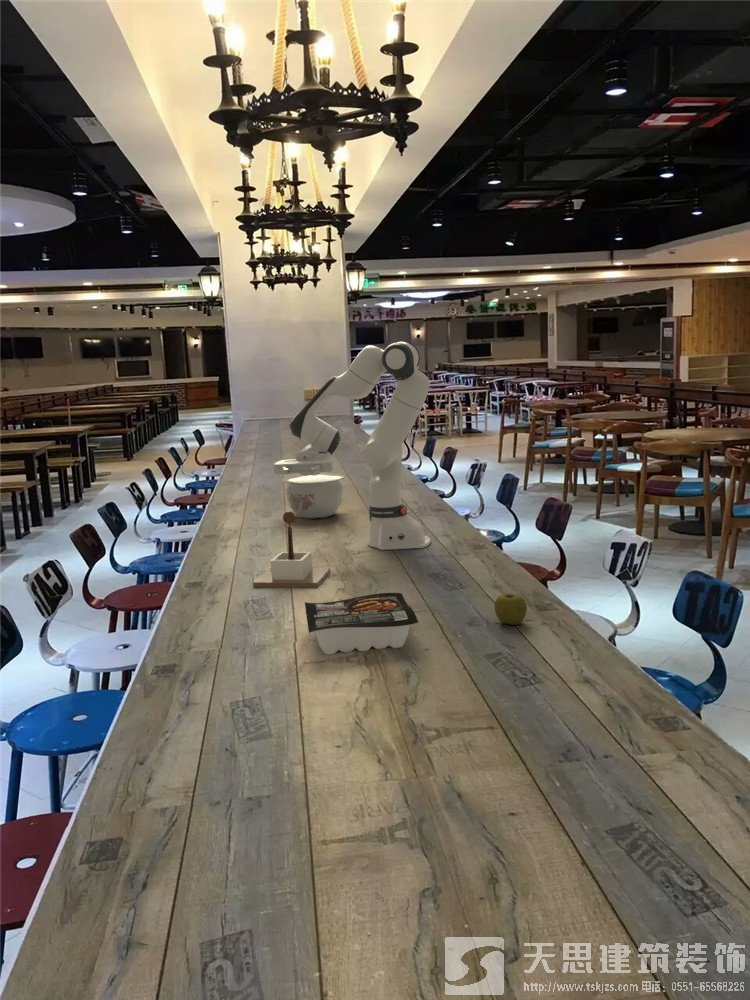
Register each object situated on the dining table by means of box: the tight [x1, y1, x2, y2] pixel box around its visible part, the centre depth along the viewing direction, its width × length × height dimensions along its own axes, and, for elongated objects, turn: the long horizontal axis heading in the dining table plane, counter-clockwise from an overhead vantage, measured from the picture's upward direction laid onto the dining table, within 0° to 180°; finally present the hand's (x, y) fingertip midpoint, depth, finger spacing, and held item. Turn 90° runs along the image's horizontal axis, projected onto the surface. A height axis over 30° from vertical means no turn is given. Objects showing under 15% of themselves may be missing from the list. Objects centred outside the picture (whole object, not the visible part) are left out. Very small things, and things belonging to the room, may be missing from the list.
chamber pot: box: [281, 471, 346, 520], centre depth 333 cm, size 28×28×21 cm
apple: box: [494, 593, 528, 626], centre depth 192 cm, size 8×8×7 cm
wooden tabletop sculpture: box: [282, 510, 302, 560], centre depth 238 cm, size 6×5×20 cm
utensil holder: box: [252, 551, 331, 589], centre depth 239 cm, size 20×16×8 cm
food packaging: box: [304, 592, 419, 655], centre depth 187 cm, size 25×8×23 cm
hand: (299, 471), depth 258 cm, fingers open, 8 cm apart
